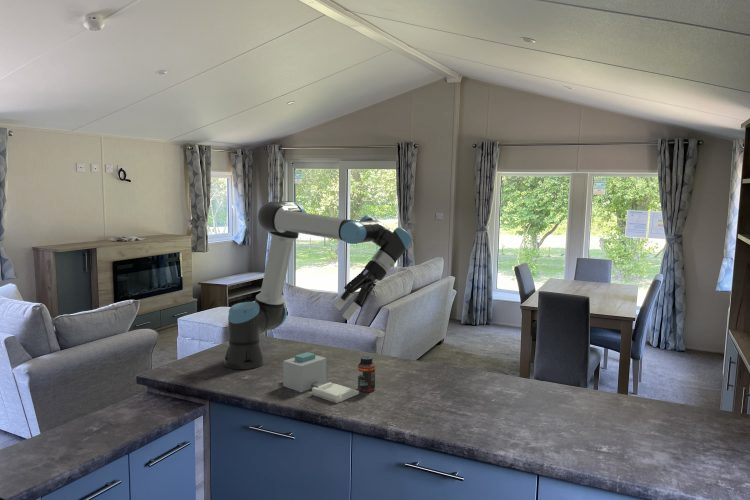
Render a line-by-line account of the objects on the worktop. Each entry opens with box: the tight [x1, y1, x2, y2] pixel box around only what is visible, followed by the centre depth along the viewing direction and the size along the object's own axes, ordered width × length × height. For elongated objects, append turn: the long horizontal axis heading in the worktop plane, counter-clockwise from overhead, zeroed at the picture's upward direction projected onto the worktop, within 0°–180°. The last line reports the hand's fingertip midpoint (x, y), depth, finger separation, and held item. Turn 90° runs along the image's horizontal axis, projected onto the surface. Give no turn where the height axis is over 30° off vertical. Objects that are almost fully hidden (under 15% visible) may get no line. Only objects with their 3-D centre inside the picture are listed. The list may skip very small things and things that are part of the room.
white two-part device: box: [282, 351, 360, 404], centre depth 183 cm, size 28×12×11 cm, turn 52°
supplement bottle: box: [357, 355, 376, 393], centre depth 183 cm, size 6×6×11 cm
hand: (340, 313), depth 184 cm, fingers open, 13 cm apart
